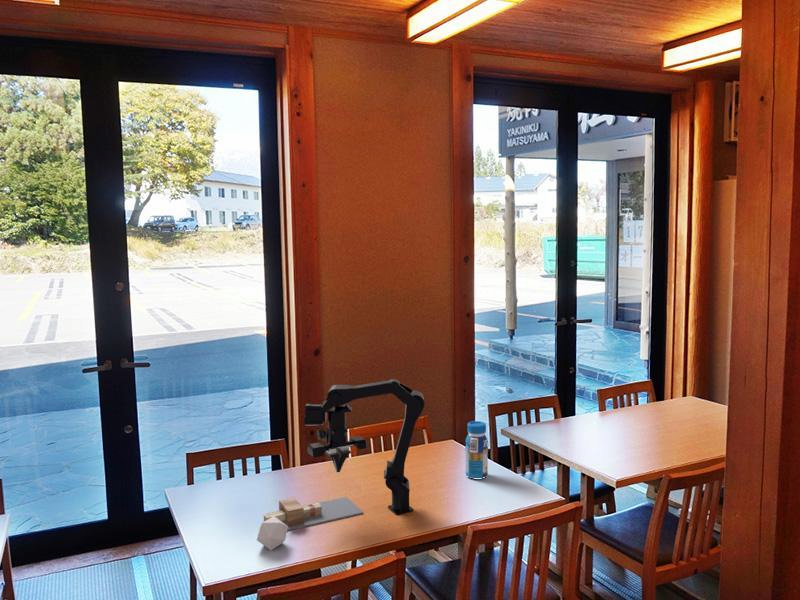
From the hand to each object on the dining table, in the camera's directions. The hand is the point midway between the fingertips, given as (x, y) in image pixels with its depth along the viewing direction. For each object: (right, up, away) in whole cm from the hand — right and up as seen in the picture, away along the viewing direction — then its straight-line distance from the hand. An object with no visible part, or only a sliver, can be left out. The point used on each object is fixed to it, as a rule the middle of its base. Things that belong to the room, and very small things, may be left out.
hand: (338, 471), depth 213 cm
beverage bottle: (+48, -10, +30) cm, 58 cm away
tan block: (-14, -13, -6) cm, 20 cm away
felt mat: (-7, -13, -1) cm, 15 cm away
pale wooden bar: (-14, -13, -6) cm, 20 cm away
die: (-17, -16, -22) cm, 32 cm away
